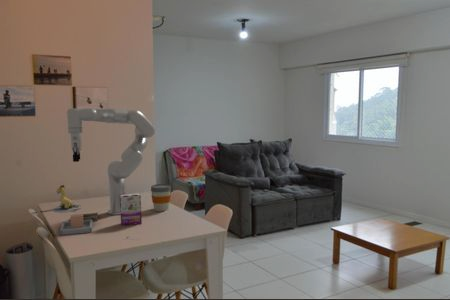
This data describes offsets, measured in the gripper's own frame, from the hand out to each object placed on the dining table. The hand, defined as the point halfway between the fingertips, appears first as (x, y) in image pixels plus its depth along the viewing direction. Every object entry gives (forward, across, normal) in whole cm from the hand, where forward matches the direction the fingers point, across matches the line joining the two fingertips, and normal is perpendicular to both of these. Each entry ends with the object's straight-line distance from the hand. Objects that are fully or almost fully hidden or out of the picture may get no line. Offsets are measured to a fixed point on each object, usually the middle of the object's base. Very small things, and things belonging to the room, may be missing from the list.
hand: (76, 160), depth 215 cm
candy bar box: (+34, -18, -28) cm, 48 cm away
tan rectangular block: (+34, -20, 0) cm, 39 cm away
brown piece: (+34, -2, -3) cm, 34 cm away
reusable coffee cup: (+35, +6, -48) cm, 60 cm away
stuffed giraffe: (+35, +28, +10) cm, 46 cm away
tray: (+34, -20, 0) cm, 40 cm away
